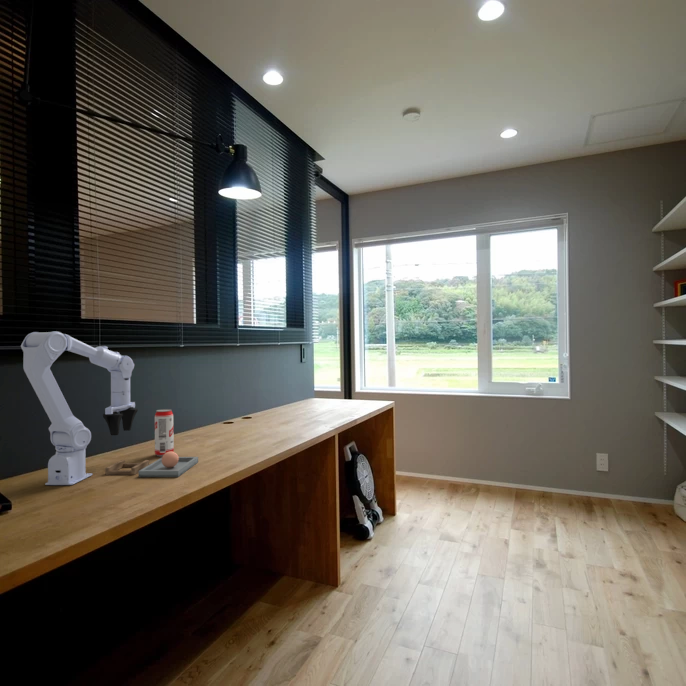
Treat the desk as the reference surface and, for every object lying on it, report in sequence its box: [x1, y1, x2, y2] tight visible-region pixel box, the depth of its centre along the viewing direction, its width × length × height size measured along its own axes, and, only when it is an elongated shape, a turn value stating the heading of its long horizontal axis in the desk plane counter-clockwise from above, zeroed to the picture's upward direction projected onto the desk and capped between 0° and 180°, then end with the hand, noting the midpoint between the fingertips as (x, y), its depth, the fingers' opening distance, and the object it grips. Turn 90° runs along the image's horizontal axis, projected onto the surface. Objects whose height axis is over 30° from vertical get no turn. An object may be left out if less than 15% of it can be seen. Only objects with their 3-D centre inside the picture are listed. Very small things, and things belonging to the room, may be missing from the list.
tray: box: [138, 456, 199, 478], centre depth 134 cm, size 16×12×2 cm
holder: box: [104, 459, 150, 476], centre depth 133 cm, size 9×9×2 cm
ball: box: [161, 451, 180, 468], centre depth 134 cm, size 5×5×5 cm
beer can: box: [154, 408, 175, 458], centre depth 152 cm, size 6×6×16 cm
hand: (121, 432), depth 140 cm, fingers open, 7 cm apart
